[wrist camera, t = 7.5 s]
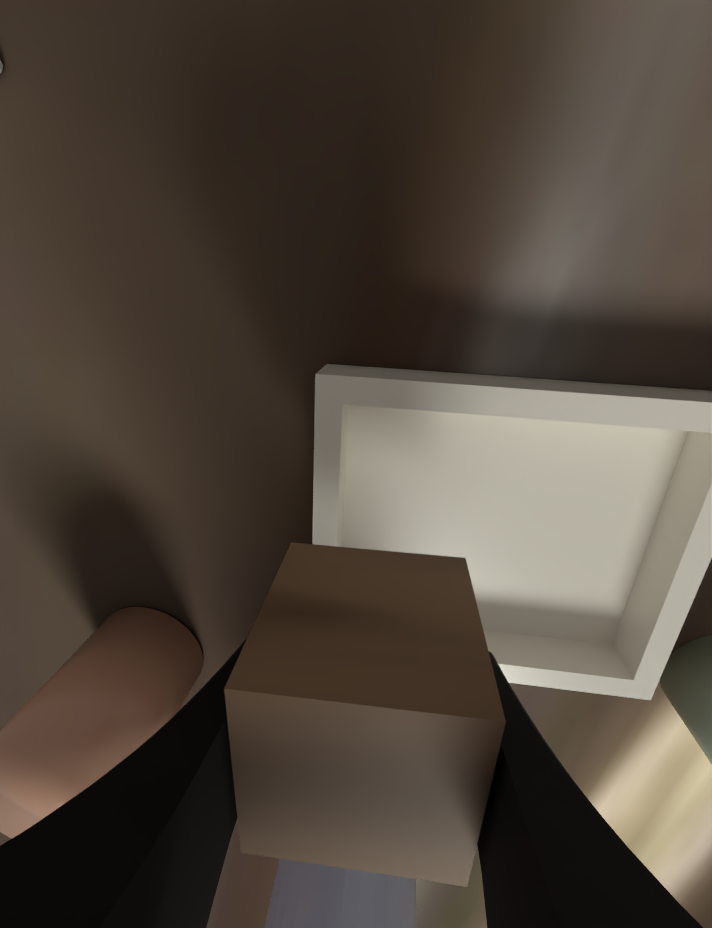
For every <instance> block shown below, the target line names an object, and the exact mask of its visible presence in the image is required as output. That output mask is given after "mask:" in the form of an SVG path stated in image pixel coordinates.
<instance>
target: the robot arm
mask: <svg viewBox="0 0 712 928" xmlns="http://www.w3.org/2000/svg"><path fill="white" fill-rule="evenodd" d="M247 638H248V637H247ZM247 638H246V640H247ZM246 640H245V641H244V642H243V643H242V644H241V646H240V647H239V648H238V649H237V650H236V651H235V653H234V654H233V655H232V656H231V657H230V658H229V659H228V661H227V662H226V663H225V664H224V665H223V666H222V667H221V668H220V669H219V671H218V672H217V673H216V674H215V675H214V676H213V677H212V678H211V679H210V680H209V681H208V682H207V683H206V685H205V686H204V687H203V688H202V689H201V690H200V691H199V692H198V693H197V694H196V695H195V696H194V697H193V698H192V699H191V700H190V701H189V702H188V703H187V704H186V705H185V706H184V707H183V708H182V709H181V710H179V711H178V712H177V713H176V714H175V715H174V716H173V717H172V718H171V719H170V720H169V721H168V722H167V723H166V724H165V725H164V726H162V727H161V728H160V729H159V730H158V731H157V732H156V733H155V734H154V735H152V736H151V737H150V738H149V739H148V740H147V741H145V742H144V743H143V744H142V745H141V746H140V747H138V748H137V749H136V750H135V751H134V752H132V753H131V754H130V755H129V756H127V757H126V758H125V759H124V760H122V761H121V762H120V763H119V764H117V765H116V766H115V767H114V768H112V769H111V770H110V771H109V772H107V773H106V774H105V775H103V776H102V777H101V778H99V779H98V780H97V781H96V782H94V783H93V784H91V785H90V786H89V787H87V788H86V789H85V790H83V791H82V792H80V793H79V794H78V795H76V796H75V797H73V798H72V799H70V800H69V801H67V802H66V803H65V804H63V805H62V806H60V807H59V808H57V809H56V810H55V811H53V812H52V813H50V814H49V815H47V816H46V817H45V818H43V819H42V820H40V821H39V822H37V823H36V824H34V825H33V826H31V827H30V828H28V829H27V830H25V831H24V832H22V833H20V834H19V835H17V836H15V837H14V838H12V839H11V840H9V841H7V842H6V843H4V844H3V845H1V846H0V928H206V926H207V922H208V919H209V915H210V911H211V907H212V904H213V900H214V896H215V892H216V889H217V885H218V881H219V878H220V874H221V871H222V867H223V864H224V860H225V856H226V853H227V849H228V846H229V842H230V838H231V835H232V832H233V829H234V826H235V823H236V820H237V809H236V799H235V790H234V780H233V770H232V760H231V751H230V741H229V731H228V721H227V712H226V702H225V692H224V688H225V686H226V683H227V681H228V679H229V677H230V675H231V673H232V670H233V668H234V666H235V664H236V662H237V659H238V657H239V655H240V653H241V651H242V649H243V646H244V644H245V642H246ZM489 655H490V659H491V664H492V668H493V672H494V676H495V680H496V684H497V688H498V692H499V696H500V700H501V704H502V708H503V712H504V716H505V720H506V723H505V728H504V732H503V736H502V740H501V745H500V749H499V753H498V758H497V762H496V766H495V770H494V775H493V779H492V783H491V787H490V792H489V796H488V800H487V804H486V809H485V813H484V817H483V821H482V826H481V830H480V834H479V838H478V843H477V845H478V850H479V857H480V864H481V871H482V879H483V889H484V898H485V908H486V918H487V928H703V927H702V926H701V925H700V924H699V923H698V922H697V921H696V920H695V919H694V918H693V917H692V916H691V915H690V914H689V913H688V912H687V911H686V910H685V909H684V908H683V907H682V906H681V905H680V904H679V903H678V902H677V901H676V900H675V898H674V897H673V896H672V895H671V894H670V893H669V892H668V891H667V890H666V889H665V888H664V886H663V885H662V884H661V883H660V882H659V881H658V880H657V879H656V878H655V877H654V875H653V874H652V873H651V872H650V871H649V870H648V869H647V868H646V867H645V866H644V865H643V863H642V862H641V861H640V860H639V859H638V858H637V857H636V856H635V855H634V854H633V852H632V851H631V850H630V849H629V848H628V847H627V846H626V845H625V843H624V842H623V841H622V840H621V839H620V838H619V836H618V835H617V834H616V833H615V832H614V830H613V829H612V828H611V827H610V826H609V825H608V823H607V822H606V821H605V820H604V819H603V817H602V816H601V815H600V814H599V812H598V811H597V810H596V809H595V807H594V806H593V805H592V804H591V802H590V801H589V800H588V799H587V797H586V796H585V795H584V794H583V792H582V791H581V790H580V788H579V787H578V786H577V784H576V783H575V782H574V781H573V779H572V778H571V776H570V775H569V774H568V772H567V771H566V770H565V768H564V767H563V766H562V764H561V763H560V761H559V760H558V759H557V757H556V756H555V754H554V753H553V752H552V750H551V749H550V747H549V746H548V744H547V743H546V741H545V740H544V738H543V737H542V735H541V734H540V732H539V731H538V729H537V728H536V726H535V725H534V723H533V722H532V720H531V719H530V717H529V715H528V714H527V712H526V711H525V709H524V708H523V706H522V704H521V703H520V701H519V699H518V698H517V696H516V694H515V693H514V691H513V689H512V688H511V686H510V684H509V683H508V681H507V679H506V677H505V676H504V674H503V672H502V670H501V668H500V667H499V665H498V663H497V661H496V659H495V657H494V655H493V654H492V653H491V652H490V651H489ZM264 928H417V915H416V879H412V878H405V877H399V876H392V875H385V874H379V873H372V872H365V871H359V870H352V869H345V868H339V867H332V866H325V865H319V864H312V863H305V862H299V861H292V860H285V859H280V860H279V864H278V869H277V873H276V878H275V882H274V887H273V891H272V896H271V900H270V905H269V909H268V914H267V918H266V923H265V927H264Z"/></svg>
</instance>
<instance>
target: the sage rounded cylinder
mask: <svg viewBox="0 0 712 928" xmlns="http://www.w3.org/2000/svg"><path fill="white" fill-rule="evenodd" d="M660 684H661V687H662V690H663V692H664V693H665V695H666V696H667V698H668V699H669V701H670V702H671V704H672V705H673V707H674V708H675V710H676V711H677V713H678V714H679V716H680V717H681V719H682V720H683V722H684V723H685V725H686V726H687V728H688V729H689V731H690V732H691V734H692V735H693V737H694V738H695V740H696V741H697V743H698V744H699V746H700V747H701V749H702V750H703V752H704V753H705V755H706V756H707V758H708V760H709V761H710V763H711V764H712V634H711V635H707V636H703V637H700V638H697V639H694V640H692V641H690V642H688V643H686V644H684V645H682V646H681V647H679V648H678V649H677V650H675V651H674V652H673V653H672V654H671V655H670V656H669V659H668V661H667V663H666V666H665V668H664V670H663V673H662V675H661V677H660Z"/></svg>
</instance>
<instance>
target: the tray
mask: <svg viewBox="0 0 712 928" xmlns="http://www.w3.org/2000/svg"><path fill="white" fill-rule="evenodd" d="M312 544H315V545H326V546H337V547H349V548H360V549H371V550H383V551H394V552H405V553H417V554H428V555H439V556H451V557H462V558H466V562H467V566H468V570H469V574H470V578H471V582H472V586H473V590H474V594H475V599H476V603H477V607H478V611H479V615H480V619H481V623H482V627H483V631H484V635H485V639H486V643H487V647H488V651H490V652H491V653H492V654H493V655H494V657H495V659H496V661H497V663H498V665H499V667H500V668H501V670H502V672H503V674H504V676H505V677H506V679H507V681H508V682H509V683H517V684H525V685H533V686H541V687H549V688H557V689H565V690H573V691H581V692H589V693H597V694H605V695H613V696H621V697H629V698H637V699H645V700H651V699H652V696H653V694H654V691H655V689H656V687H657V684H658V682H659V680H660V677H661V675H662V673H663V670H664V668H665V666H666V663H667V661H668V659H669V656H670V654H671V652H672V649H673V647H674V645H675V642H676V640H677V638H678V635H679V633H680V631H681V628H682V626H683V624H684V621H685V619H686V617H687V614H688V612H689V610H690V607H691V605H692V603H693V600H694V598H695V596H696V593H697V591H698V589H699V586H700V584H701V582H702V579H703V577H704V575H705V572H706V570H707V567H708V565H709V563H710V560H711V558H712V391H708V390H694V389H680V388H666V387H651V386H637V385H623V384H608V383H594V382H580V381H566V380H551V379H537V378H523V377H509V376H494V375H480V374H466V373H452V372H437V371H423V370H409V369H394V368H380V367H366V366H352V365H337V364H326V365H325V366H324V367H323V368H322V369H321V370H319V371H318V372H317V373H316V374H315V420H314V476H313V532H312Z"/></svg>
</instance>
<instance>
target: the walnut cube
mask: <svg viewBox="0 0 712 928" xmlns="http://www.w3.org/2000/svg"><path fill="white" fill-rule="evenodd" d="M224 692H225V702H226V712H227V721H228V731H229V741H230V751H231V760H232V770H233V780H234V790H235V799H236V809H237V819H238V829H239V838H240V848H241V853H245V854H252V855H259V856H265V857H272V858H279V859H285V860H292V861H299V862H305V863H312V864H319V865H325V866H332V867H339V868H345V869H352V870H359V871H365V872H372V873H379V874H385V875H392V876H399V877H405V878H412V879H419V880H425V881H432V882H439V883H445V884H452V885H459V886H465V887H467V885H468V881H469V877H470V872H471V868H472V864H473V860H474V855H475V851H476V847H477V843H478V838H479V834H480V830H481V826H482V821H483V817H484V813H485V809H486V804H487V800H488V796H489V792H490V787H491V783H492V779H493V775H494V770H495V766H496V762H497V758H498V753H499V749H500V745H501V740H502V736H503V732H504V728H505V723H506V720H505V716H504V712H503V708H502V704H501V700H500V696H499V692H498V688H497V684H496V680H495V676H494V672H493V668H492V664H491V659H490V655H489V651H488V647H487V643H486V639H485V635H484V631H483V627H482V623H481V619H480V615H479V611H478V607H477V603H476V599H475V594H474V590H473V586H472V582H471V578H470V574H469V570H468V566H467V562H466V558H462V557H451V556H439V555H428V554H417V553H405V552H394V551H383V550H371V549H360V548H349V547H337V546H326V545H315V544H304V543H292V542H291V544H290V546H289V548H288V550H287V553H286V555H285V557H284V559H283V561H282V563H281V566H280V568H279V570H278V572H277V574H276V577H275V579H274V581H273V583H272V585H271V587H270V590H269V592H268V594H267V596H266V598H265V601H264V603H263V605H262V607H261V609H260V611H259V614H258V616H257V618H256V620H255V622H254V625H253V627H252V629H251V631H250V633H249V635H248V638H247V640H246V642H245V644H244V646H243V649H242V651H241V653H240V655H239V657H238V659H237V662H236V664H235V666H234V668H233V670H232V673H231V675H230V677H229V679H228V681H227V683H226V686H225V688H224Z"/></svg>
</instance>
